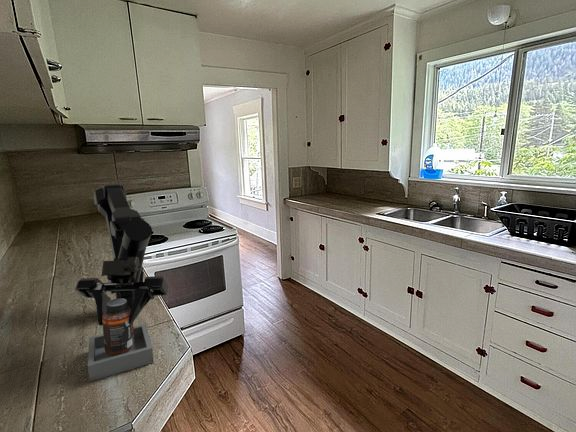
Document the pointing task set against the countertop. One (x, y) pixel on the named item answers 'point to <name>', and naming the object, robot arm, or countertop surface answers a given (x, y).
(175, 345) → the countertop surface
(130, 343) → the supplement bottle
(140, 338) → the tray
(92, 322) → the countertop surface
